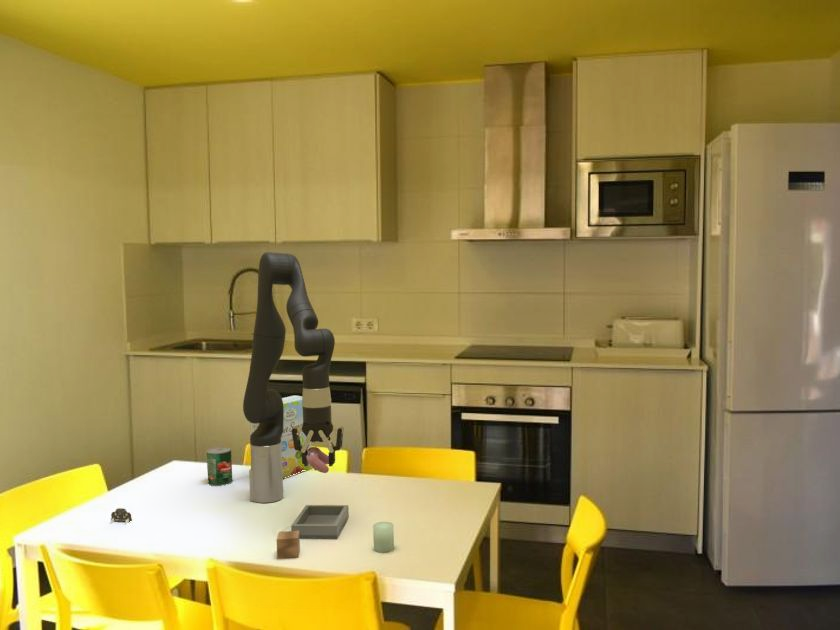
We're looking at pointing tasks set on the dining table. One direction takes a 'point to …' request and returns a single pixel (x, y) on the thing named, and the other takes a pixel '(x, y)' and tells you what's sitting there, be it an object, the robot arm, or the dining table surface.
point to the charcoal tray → (321, 521)
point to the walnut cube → (288, 544)
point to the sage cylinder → (383, 537)
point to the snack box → (290, 436)
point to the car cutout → (121, 516)
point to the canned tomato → (219, 466)
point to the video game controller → (318, 459)
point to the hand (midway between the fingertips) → (318, 465)
